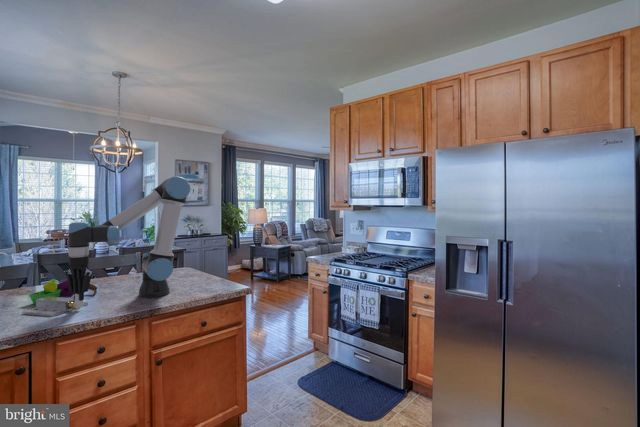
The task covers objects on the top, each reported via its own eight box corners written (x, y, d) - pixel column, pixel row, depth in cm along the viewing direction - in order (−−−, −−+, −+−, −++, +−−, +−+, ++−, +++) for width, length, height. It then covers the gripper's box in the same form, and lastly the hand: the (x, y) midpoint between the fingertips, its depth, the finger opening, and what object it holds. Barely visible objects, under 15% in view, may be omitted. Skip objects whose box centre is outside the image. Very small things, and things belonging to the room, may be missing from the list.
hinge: (87, 304, 160) (87, 295, 160) (52, 316, 142) (52, 305, 142) (60, 302, 163) (60, 293, 162) (22, 314, 145) (22, 303, 145)
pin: (81, 308, 152) (81, 300, 152) (74, 310, 148) (74, 302, 148) (49, 305, 155) (49, 298, 155) (41, 308, 152) (41, 300, 152)
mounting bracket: (40, 310, 170) (78, 292, 175) (31, 296, 168) (69, 279, 174) (48, 305, 178) (83, 288, 184) (40, 291, 177) (75, 275, 182)
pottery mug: (76, 295, 178) (85, 281, 181) (93, 302, 179) (102, 288, 182) (65, 295, 167) (75, 280, 169) (83, 303, 168) (93, 288, 170)
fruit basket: (48, 298, 170) (48, 276, 170) (65, 298, 170) (64, 277, 170) (28, 305, 159) (27, 281, 158) (45, 305, 158) (45, 282, 158)
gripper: (98, 255, 152) (98, 305, 153) (74, 254, 155) (74, 304, 155) (83, 257, 145) (84, 310, 145) (59, 256, 147) (59, 309, 148)
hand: (79, 307), depth 150 cm, fingers closed
